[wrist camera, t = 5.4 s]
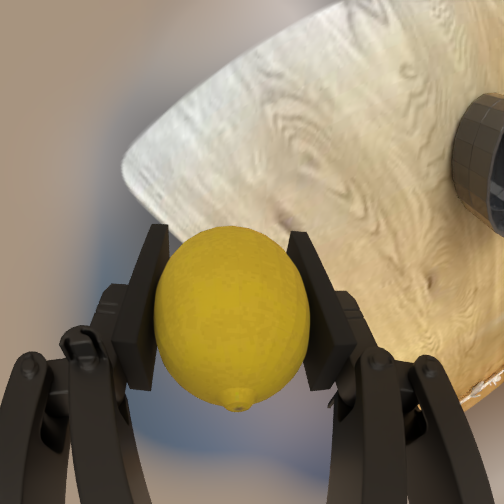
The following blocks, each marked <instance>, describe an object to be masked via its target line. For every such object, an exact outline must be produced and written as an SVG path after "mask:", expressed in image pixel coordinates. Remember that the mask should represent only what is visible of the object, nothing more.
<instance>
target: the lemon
mask: <svg viewBox="0 0 504 504" xmlns="http://www.w3.org/2000/svg"><path fill="white" fill-rule="evenodd" d="M153 320H154V332H155V338H156V343H157V346H158V349H159V352H160V356H161V358H162V361H163V363H164V365H165V367H166V369H167V370H168V372H169V373H170V374H171V376H172V377H173V378H174V379H175V380H176V381H177V382H178V384H179V385H180V386H182V387H183V388H184V389H185V390H187V391H188V392H189V393H191V394H192V395H194V396H195V397H197V398H199V399H201V400H204V401H206V402H208V403H211V404H215V405H220V406H223V407H225V408H226V409H227V410H229V411H231V412H242V411H246V410H248V409H249V408H250V407H251V406H252V404H255V403H258V402H261V401H263V400H266V399H268V398H269V397H271V396H272V395H274V394H275V393H277V392H279V391H280V390H281V389H282V388H283V387H284V386H285V385H286V384H287V383H288V382H289V381H290V380H291V379H292V378H293V377H294V376H295V374H296V373H297V372H298V370H299V368H300V366H301V364H302V362H303V360H304V358H305V355H306V352H307V348H308V342H309V330H310V310H309V303H308V298H307V294H306V291H305V288H304V284H303V281H302V278H301V276H300V273H299V271H298V269H297V268H296V266H295V265H294V263H293V262H292V260H291V259H290V258H289V256H288V255H287V254H286V252H285V251H284V250H283V249H282V248H281V247H280V246H279V245H278V244H277V243H275V242H274V241H273V240H271V239H270V238H269V237H267V236H266V235H264V234H262V233H259V232H257V231H254V230H252V229H249V228H243V227H237V226H224V227H215V228H212V229H209V230H206V231H202V232H200V233H198V234H197V235H195V236H193V237H192V238H190V239H188V240H187V241H185V242H184V243H183V244H182V246H180V247H179V249H178V250H177V251H176V252H175V253H174V254H173V255H172V256H171V257H170V259H169V261H168V263H167V264H166V267H165V269H164V271H163V273H162V275H161V277H160V279H159V282H158V285H157V289H156V295H155V303H154V317H153Z"/></svg>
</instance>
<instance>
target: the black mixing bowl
mask: <svg viewBox="0 0 504 504" xmlns="http://www.w3.org/2000/svg"><path fill="white" fill-rule="evenodd" d="M455 137H456V138H455V143H454V150H453V157H452V167H453V182H454V185H455V189H456V192H457V196H458V198H459V199H460V201H461V202H462V204H463V205H464V207H465V208H466V209H467V210H468V211H470V212H471V213H472V214H473V215H475V216H476V217H477V218H478V219H480V220H481V221H482V222H483V223H485V224H486V225H487V226H488V227H489V228H490V229H492V230H493V231H494V232H495V233H497V234H499V235H500V236H502V237H504V95H502V94H499V93H487V94H483V95H482V96H480V97H479V98H477V99H476V100H475V101H473V102H472V103H471V105H470V106H469V108H468V109H467V111H466V113H465V114H464V116H463V118H462V119H461V122H460V125H459V128H458V131H457V134H456V136H455Z"/></svg>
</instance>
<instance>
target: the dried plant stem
mask: <svg viewBox="0 0 504 504" xmlns="http://www.w3.org/2000/svg"><path fill="white" fill-rule="evenodd" d="M503 372H504V369H503V370H502V371H500V372H499V373H498V374H497V375H495V376H494V375H492V376H491V377H490V378H489V381H488V382H486V383H485V384H484V381H481V382H480V383H478V384H477V385H476V386H475V388H474V386H473V389H472V391H471V394H470V395H468V396H467V397H465V398H464V399H462V400H461V401H460V404H462V403H463V402H465V401H466V400H468V399H469V398H470V397H479V396H481V395H476V394H477V393H478V392H480V391H482V389H483V388H484V387H485V386H487V385H488V384H490V386H491V382H493V383H494V384H495V386H496V383H495V382H497V381H499V380H500V379H501V376H499V375H500V374H501V373H503ZM483 384H484V385H483ZM474 395H476V396H474Z"/></svg>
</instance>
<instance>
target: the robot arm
mask: <svg viewBox="0 0 504 504" xmlns="http://www.w3.org/2000/svg"><path fill="white" fill-rule="evenodd" d="M286 254H287V255H288V256H289V258H290V259H291V260H292V262H293V263H294V265H295V266H296V268H297V269H298V271H299V273H300V276H301V278H302V281H303V284H304V288H305V291H306V294H307V298H308V303H309V310H310V330H309V342H308V348H307V352H306V355H305V358H304V360H303V363H304V367H305V371H306V375H307V379H308V383H309V387H310V391H317V390H326V389H330V388H331V387H332V385H333V383H334V382H336V385H337V388H338V390H337V392H336V393H335V395H334V396H333V398H332V399H331V401H330V402H329V403H328V408H331V406H332V405H333V404H334V414H333V415H334V416H333V435H332V452H331V464H330V476H329V487H328V495H327V503H326V504H407V496H408V500H409V504H495V503H494V499H493V495H492V491H491V488H490V484H489V481H488V477H487V474H486V471H485V468H484V465H483V461H482V459H481V456H480V453H479V450H478V447H477V444H476V442H475V439H474V436H473V434H472V431H471V429H470V426H469V423H468V421H467V419H466V416H465V414H464V411H463V409H462V407H461V404H460V402H459V400H458V398H457V395H456V393H455V391H454V389H453V387H452V385H451V382H450V380H449V378H448V376H447V374H446V372H445V370H444V368H443V366H442V365H441V363H440V362H439V361H438V360H437V359H436V358H435V357H432V356H430V355H422V356H419V357H418V358H417V360H416V361H415V362H414V363H410V362H403V361H397V360H394V358H393V356H392V355H391V354H390V353H389V352H388V351H386V350H385V349H383V348H380V347H378V346H377V343H376V341H375V339H374V337H373V335H372V333H371V331H370V329H369V327H368V325H367V322H366V320H365V318H363V317H364V316H363V314H362V312H361V311H360V308H359V306H358V304H357V302H356V300H355V299H354V298H353V297H352V296H351V295H350V294H349V293H348V292H347V291H335V290H334V288H333V286H332V284H331V282H330V280H329V277H328V275H327V273H326V271H325V269H324V267H323V265H322V263H321V261H320V258H319V256H318V254H317V252H316V250H315V248H314V246H313V244H312V242H311V240H310V238H309V236H308V234H307V232H298V231H291V234H290V238H289V243H288V248H287V252H286ZM169 259H170V257H169V235H168V225H167V224H152V225H151V227H150V230H149V232H148V234H147V237H146V239H145V242H144V244H143V247H142V249H141V252H140V255H139V258H138V260H137V263H136V265H135V268H134V271H133V273H132V276H131V279H130V282H129V285H126V284H111V285H110V286H109V287H108V288H107V289H106V290H105V291H104V292H103V294H102V296H101V299H100V301H99V304H98V306H97V309H96V313H95V314H94V316H93V319H92V322H91V324H90V326H84V325H80V326H76V327H73V328H71V329H69V330H68V331H66V333H65V334H64V335H63V336H62V337H61V340H60V343H59V346H60V347H61V349H62V351H63V353H64V355H65V356H66V358H63V359H56V360H48V361H46V359H45V358H44V357H43V356H42V354H40V353H38V352H27V353H25V354H23V355H21V356H20V357H19V358H18V359H17V361H16V363H15V364H14V367H13V370H12V372H11V375H10V378H9V381H8V384H7V387H6V390H5V393H4V396H3V399H2V403H1V406H0V504H65V493H66V479H67V468H68V459H69V450H70V443H71V447H72V456H73V464H74V470H75V476H76V483H77V488H78V493H79V498H80V503H81V504H152V502H151V499H150V496H149V493H148V489H147V486H146V482H145V479H144V475H143V471H142V467H141V463H140V460H139V455H138V451H137V447H136V442H135V438H134V433H133V428H132V422H131V417H130V411H129V406H128V400H127V397H126V394H125V389H126V383H128V385H129V388H130V389H136V390H144V391H151V387H152V379H153V372H154V365H155V357H156V351H157V343H156V338H155V332H154V320H153V317H154V303H155V295H156V289H157V285H158V282H159V279H160V277H161V275H162V273H163V271H164V269H165V267H166V264H167V263H168V261H169ZM418 404H420V407H421V410H420V409H419V408H418V406H417V405H418Z"/></svg>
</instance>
